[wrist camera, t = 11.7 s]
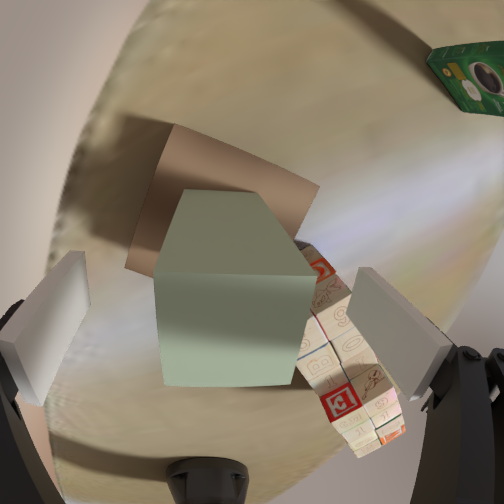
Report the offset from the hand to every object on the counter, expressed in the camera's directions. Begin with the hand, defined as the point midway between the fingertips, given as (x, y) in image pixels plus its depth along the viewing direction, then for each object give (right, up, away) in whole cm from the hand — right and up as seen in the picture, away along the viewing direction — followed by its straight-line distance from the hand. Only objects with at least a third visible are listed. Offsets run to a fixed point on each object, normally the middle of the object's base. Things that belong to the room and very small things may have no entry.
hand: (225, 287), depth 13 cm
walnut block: (-2, +5, +12) cm, 13 cm away
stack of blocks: (+9, -7, +19) cm, 22 cm away
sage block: (-1, +3, +7) cm, 8 cm away
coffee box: (+23, +20, +10) cm, 32 cm away
